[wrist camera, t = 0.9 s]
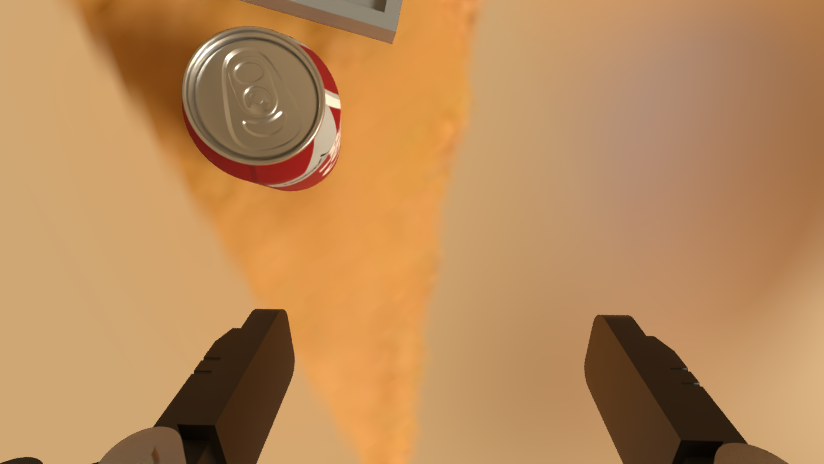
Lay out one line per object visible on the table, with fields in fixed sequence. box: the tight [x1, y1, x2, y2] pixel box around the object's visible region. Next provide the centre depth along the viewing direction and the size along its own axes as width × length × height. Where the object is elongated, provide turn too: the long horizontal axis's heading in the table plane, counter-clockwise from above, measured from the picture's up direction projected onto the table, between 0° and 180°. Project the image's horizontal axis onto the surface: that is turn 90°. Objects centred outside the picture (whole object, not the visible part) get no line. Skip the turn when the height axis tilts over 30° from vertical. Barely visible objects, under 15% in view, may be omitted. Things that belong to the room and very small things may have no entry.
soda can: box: [182, 26, 341, 191], centre depth 22 cm, size 7×7×12 cm
